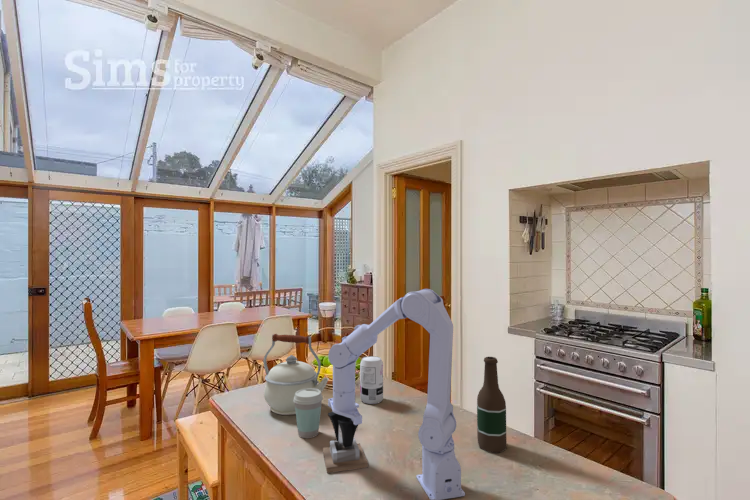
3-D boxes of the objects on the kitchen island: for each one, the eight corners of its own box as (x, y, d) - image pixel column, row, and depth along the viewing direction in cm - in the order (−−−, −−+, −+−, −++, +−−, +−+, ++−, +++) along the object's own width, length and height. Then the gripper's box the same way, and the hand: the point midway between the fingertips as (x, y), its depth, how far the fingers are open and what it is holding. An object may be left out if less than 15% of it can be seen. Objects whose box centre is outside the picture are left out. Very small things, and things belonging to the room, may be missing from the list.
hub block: (367, 467, 94) (367, 452, 95) (326, 472, 92) (326, 457, 92) (359, 447, 104) (359, 434, 104) (322, 452, 102) (322, 438, 102)
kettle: (248, 413, 128) (248, 338, 128) (278, 394, 145) (278, 328, 146) (316, 423, 120) (315, 343, 120) (339, 402, 137) (339, 332, 138)
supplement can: (357, 398, 141) (356, 357, 141) (377, 395, 144) (377, 354, 145) (365, 406, 133) (365, 362, 134) (387, 402, 137) (386, 360, 137)
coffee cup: (327, 436, 111) (327, 394, 111) (298, 443, 107) (298, 399, 107) (316, 425, 119) (316, 385, 119) (289, 431, 114) (289, 390, 115)
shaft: (352, 452, 98) (352, 424, 98) (340, 455, 96) (341, 426, 96) (348, 446, 100) (348, 419, 101) (336, 449, 99) (336, 421, 99)
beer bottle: (486, 455, 100) (485, 362, 100) (471, 441, 107) (470, 355, 108) (512, 451, 102) (511, 360, 102) (496, 438, 109) (495, 353, 110)
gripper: (372, 394, 95) (372, 450, 94) (344, 379, 107) (344, 428, 107) (347, 400, 91) (347, 458, 91) (320, 384, 103) (321, 435, 103)
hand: (344, 443), depth 98 cm, fingers closed on shaft, 3 cm apart
